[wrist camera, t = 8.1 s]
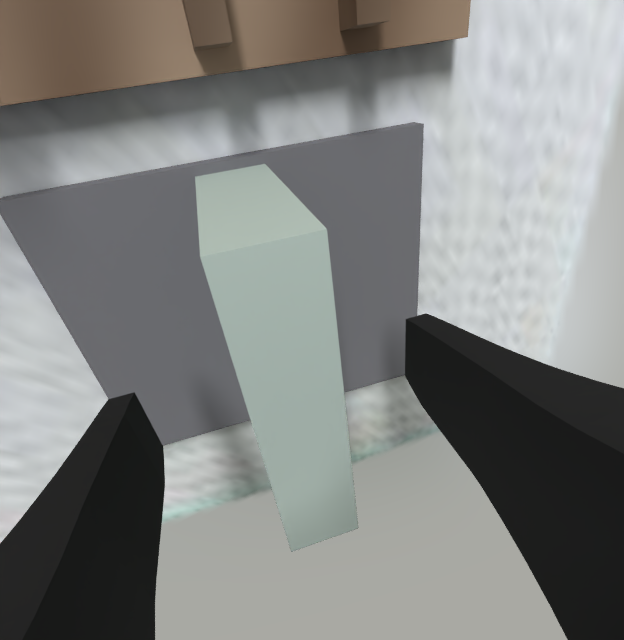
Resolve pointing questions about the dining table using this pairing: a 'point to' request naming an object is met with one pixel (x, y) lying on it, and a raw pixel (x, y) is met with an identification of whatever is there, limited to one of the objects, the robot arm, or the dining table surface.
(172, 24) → the walnut rack
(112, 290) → the charcoal mat
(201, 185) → the sage panel
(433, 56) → the dining table surface
